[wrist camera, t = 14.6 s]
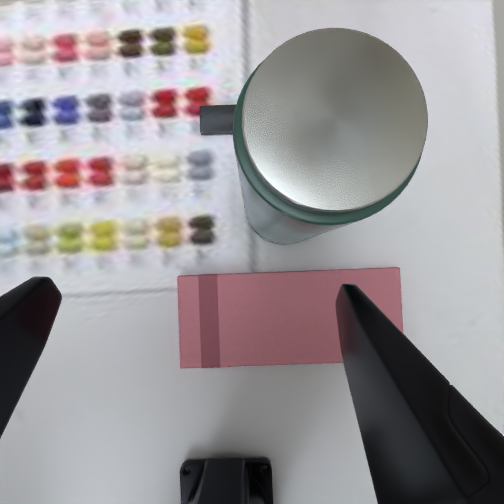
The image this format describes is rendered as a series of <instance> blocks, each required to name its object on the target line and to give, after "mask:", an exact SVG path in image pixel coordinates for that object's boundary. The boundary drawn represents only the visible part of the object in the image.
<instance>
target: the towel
mask: <svg viewBox="0 0 504 504" xmlns="http://www.w3.org/2000/svg"><path fill="white" fill-rule="evenodd" d="M177 281H178V311H179V341H180V368H214V367H231V366H258V365H285V364H312V363H340V362H343V359H342V354H341V348H340V340H339V332H338V324H337V316H336V308H335V302H336V298H337V295H338V292H339V289H340V286H341V285H342V284H356V285H357V286H358V287H359V288H360V289H361V290H362V291H363V292H364V293H365V294H366V295H367V296H368V297H369V298H370V299H371V300H372V302H373V303H374V304H375V305H376V306H377V307H378V308H379V309H380V310H381V311H382V312H383V313H384V314H385V315H386V316H387V317H388V318H389V319H390V320H391V321H392V323H393V324H394V325H395V326H396V327H397V328H398V329H399V330H400V331H401V332H402V333H403V325H402V304H401V283H400V268H396V267H395V268H368V269H342V270H316V271H290V272H263V273H237V274H204V275H185V276H178V277H177Z"/></svg>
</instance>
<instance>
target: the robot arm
mask: <svg viewBox="0 0 504 504" xmlns="http://www.w3.org/2000/svg"><path fill="white" fill-rule="evenodd" d="M61 300H62V295H61V293H60V291H59V290H58V288H57V287H56V285H55V284H54V282H53V281H52V279H51V278H49V277H33V278H31V279H29V280H27V281H26V282H24V283H22V284H21V285H19V286H17V287H16V288H14V289H12V290H11V291H9V292H7V293H6V294H4V295H2V296H1V297H0V438H1V436H2V434H3V432H4V430H5V428H6V426H7V424H8V422H9V419H10V417H11V415H12V413H13V411H14V409H15V407H16V405H17V403H18V401H19V399H20V397H21V395H22V393H23V391H24V389H25V387H26V384H27V382H28V380H29V378H30V376H31V374H32V372H33V370H34V368H35V366H36V364H37V362H38V360H39V358H40V356H41V354H42V351H43V349H44V347H45V345H46V342H47V340H48V337H49V334H50V331H51V329H52V326H53V323H54V320H55V318H56V315H57V312H58V309H59V306H60V304H61ZM335 308H336V316H337V324H338V332H339V340H340V348H341V354H342V359H343V363H344V367H345V371H346V375H347V379H348V383H349V388H350V392H351V396H352V400H353V404H354V408H355V412H356V416H357V420H358V424H359V428H360V432H361V437H362V441H363V445H364V449H365V453H366V457H367V461H368V465H369V469H370V473H371V477H372V481H373V486H374V490H375V494H376V498H377V502H378V504H504V436H503V435H502V434H501V433H500V432H499V431H498V430H497V429H496V428H494V427H493V426H492V425H491V424H490V423H489V422H488V421H487V420H486V419H485V418H484V417H483V416H482V415H481V414H480V413H479V412H478V411H477V410H476V409H475V408H474V407H473V406H472V405H471V404H470V403H469V402H468V401H467V400H466V399H465V398H464V397H463V396H462V395H461V394H460V393H459V392H458V390H457V389H456V388H455V387H454V386H453V385H450V383H449V381H448V380H447V379H446V378H445V377H444V376H443V375H442V374H441V373H440V372H439V371H438V370H437V369H436V368H435V367H434V365H433V364H432V363H431V362H430V361H429V360H428V359H427V358H426V357H425V356H424V355H423V354H422V353H421V352H420V351H419V350H418V349H417V348H416V347H415V346H414V345H413V343H412V342H411V341H410V340H409V339H408V338H407V337H406V336H405V335H404V334H403V333H402V332H401V331H400V330H399V329H398V328H397V327H396V326H395V325H394V324H393V323H392V321H391V320H390V319H389V318H388V317H387V316H386V315H385V314H384V313H383V312H382V311H381V310H380V309H379V308H378V307H377V306H376V305H375V304H374V303H373V302H372V300H371V299H370V298H369V297H368V296H367V295H366V294H365V293H364V292H363V291H362V290H361V289H360V288H359V287H358V286H357V285H356V284H342V285H341V286H340V289H339V292H338V295H337V298H336V302H335ZM264 465H266V466H267V468H262V466H264ZM185 468H189V469H190V471H186V470H185ZM180 486H181V504H273V489H272V466H271V462H270V460H269V459H267V458H243V459H242V458H224V459H208V460H188V461H185V462H184V463H183V464H182V466H181V469H180Z"/></svg>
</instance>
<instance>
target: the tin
mask: <svg viewBox="0 0 504 504" xmlns="http://www.w3.org/2000/svg"><path fill="white" fill-rule="evenodd" d="M427 127H428V114H427V105H426V100H425V96H424V92H423V90H422V87H421V85H420V82H419V80H418V78H417V76H416V75H415V73H414V71H413V69H412V68H411V67H410V65H409V64H408V63H407V61H406V60H405V59H404V58H403V57H402V56H401V55H400V54H399V53H398V52H397V51H396V50H394V49H393V48H392V47H391V46H389V45H388V44H386V43H385V42H383V41H381V40H380V39H378V38H376V37H374V36H371V35H369V34H367V33H363V32H360V31H356V30H351V29H345V28H326V29H318V30H314V31H309V32H306V33H303V34H301V35H298V36H296V37H294V38H292V39H290V40H288V41H286V42H285V43H283V44H282V45H281V46H279V47H278V48H276V49H275V50H274V51H273V52H272V53H271V54H270V55H269V56H268V57H267V58H266V59H265V60H264V61H263V62H262V63H261V64H259V66H258V67H257V68H256V69H255V70H254V72H253V73H252V74H251V75H250V77H249V78H248V80H247V82H246V83H245V85H244V87H243V89H242V91H241V93H240V96H239V98H238V101H237V105H236V108H235V113H234V119H233V141H234V149H235V154H236V160H237V166H238V172H239V177H240V183H241V189H242V195H243V200H244V206H245V212H246V216H247V219H248V222H249V223H250V225H251V227H252V228H253V230H254V231H255V232H256V233H257V234H258V235H259V236H261V237H262V238H264V239H265V240H267V241H270V242H272V243H276V244H292V243H296V242H299V241H302V240H305V239H308V238H311V237H314V236H316V235H319V234H322V233H325V232H328V231H331V230H334V229H337V228H339V227H342V226H345V225H348V224H351V223H354V222H357V221H359V220H362V219H365V218H367V217H370V216H372V215H373V214H375V213H377V212H379V211H381V210H382V209H383V208H385V207H386V206H388V205H389V204H390V203H391V202H392V201H393V200H395V199H396V198H397V197H398V196H399V195H400V194H401V192H402V191H403V190H404V189H405V187H406V186H407V185H408V183H409V182H410V180H411V178H412V177H413V175H414V173H415V171H416V168H417V166H418V164H419V161H420V158H421V154H422V151H423V147H424V143H425V140H426V134H427Z"/></svg>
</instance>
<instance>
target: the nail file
mask: <svg viewBox="0 0 504 504" xmlns="http://www.w3.org/2000/svg"><path fill="white" fill-rule="evenodd" d="M235 108H236V105H214V106H200V133H201V135H212V134H233V119H234V113H235Z"/></svg>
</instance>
